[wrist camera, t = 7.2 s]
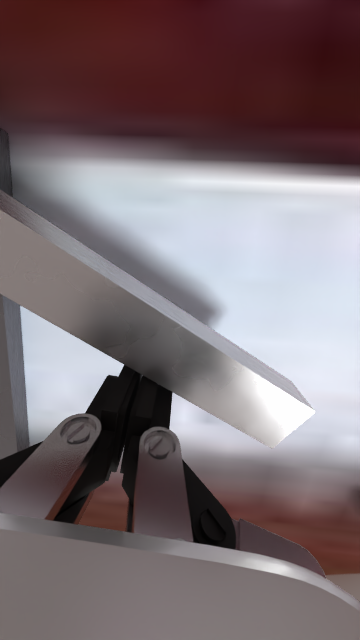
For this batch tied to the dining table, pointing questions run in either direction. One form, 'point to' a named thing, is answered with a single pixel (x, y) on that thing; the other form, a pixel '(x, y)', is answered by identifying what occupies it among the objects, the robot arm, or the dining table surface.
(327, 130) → the dining table surface
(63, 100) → the dining table surface
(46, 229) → the swing arm
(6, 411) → the chassis
